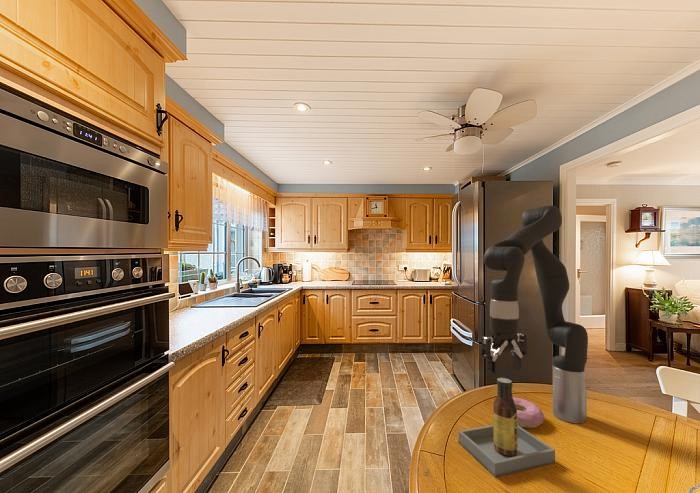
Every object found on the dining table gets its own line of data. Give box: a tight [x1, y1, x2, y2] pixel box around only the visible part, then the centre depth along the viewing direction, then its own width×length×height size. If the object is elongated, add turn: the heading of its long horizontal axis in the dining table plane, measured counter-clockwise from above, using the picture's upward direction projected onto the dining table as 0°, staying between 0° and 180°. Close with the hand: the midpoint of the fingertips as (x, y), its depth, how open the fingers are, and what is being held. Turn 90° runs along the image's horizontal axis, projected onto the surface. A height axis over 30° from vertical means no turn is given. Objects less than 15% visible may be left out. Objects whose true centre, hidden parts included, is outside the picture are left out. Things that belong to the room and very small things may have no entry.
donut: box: [512, 396, 545, 429], centre depth 108 cm, size 16×15×5 cm
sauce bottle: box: [492, 377, 518, 456], centre depth 89 cm, size 7×6×20 cm
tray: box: [458, 424, 556, 478], centre depth 89 cm, size 20×15×4 cm
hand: (504, 371), depth 89 cm, fingers open, 8 cm apart
